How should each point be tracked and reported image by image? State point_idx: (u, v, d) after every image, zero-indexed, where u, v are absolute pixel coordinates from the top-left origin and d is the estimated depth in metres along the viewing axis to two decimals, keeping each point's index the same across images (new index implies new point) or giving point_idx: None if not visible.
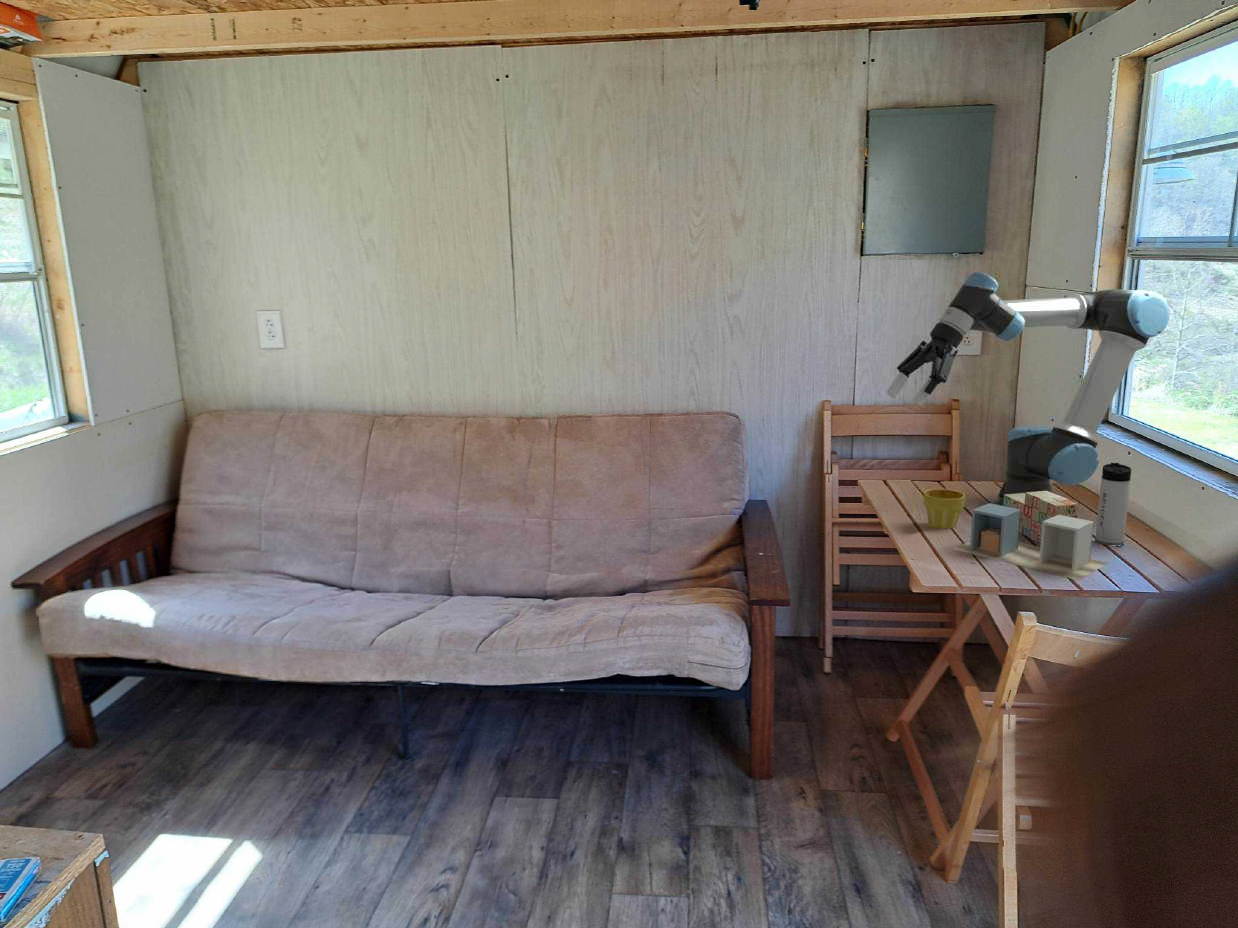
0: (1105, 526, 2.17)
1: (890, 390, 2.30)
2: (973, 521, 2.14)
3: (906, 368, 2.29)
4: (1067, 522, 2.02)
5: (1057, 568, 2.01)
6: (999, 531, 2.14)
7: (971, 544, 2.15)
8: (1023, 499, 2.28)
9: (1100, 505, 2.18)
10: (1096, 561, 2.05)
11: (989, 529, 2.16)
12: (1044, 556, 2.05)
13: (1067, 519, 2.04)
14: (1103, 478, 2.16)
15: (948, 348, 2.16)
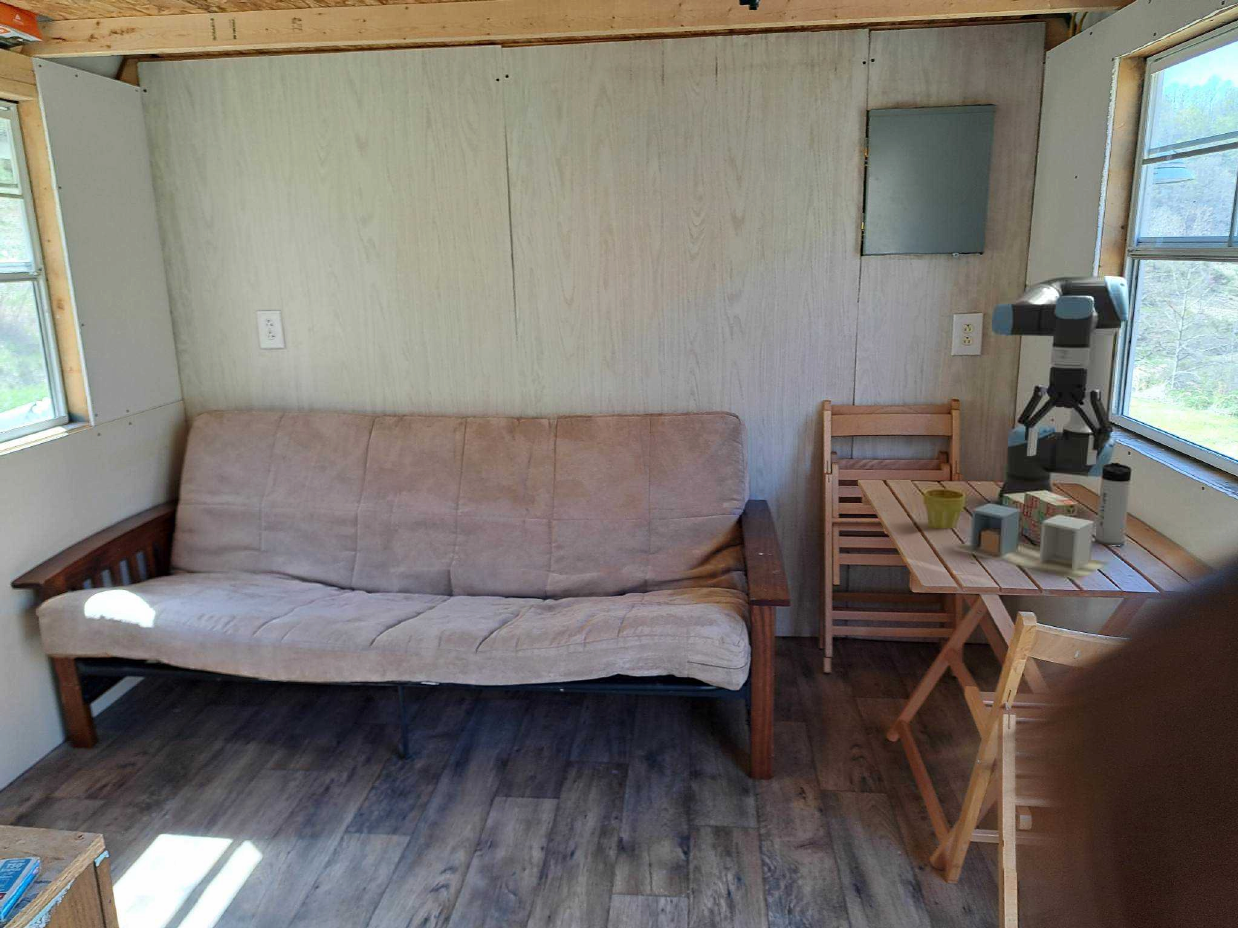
0: (1105, 526, 2.17)
1: (1031, 451, 2.04)
2: (973, 521, 2.14)
3: (1034, 421, 2.03)
4: (1067, 522, 2.02)
5: (1057, 568, 2.01)
6: (999, 531, 2.14)
7: (971, 544, 2.15)
8: (1022, 499, 2.28)
9: (1100, 505, 2.18)
10: (1096, 561, 2.05)
11: (989, 529, 2.16)
12: (1044, 556, 2.05)
13: (1067, 519, 2.04)
14: (1103, 478, 2.16)
15: (1093, 395, 1.91)
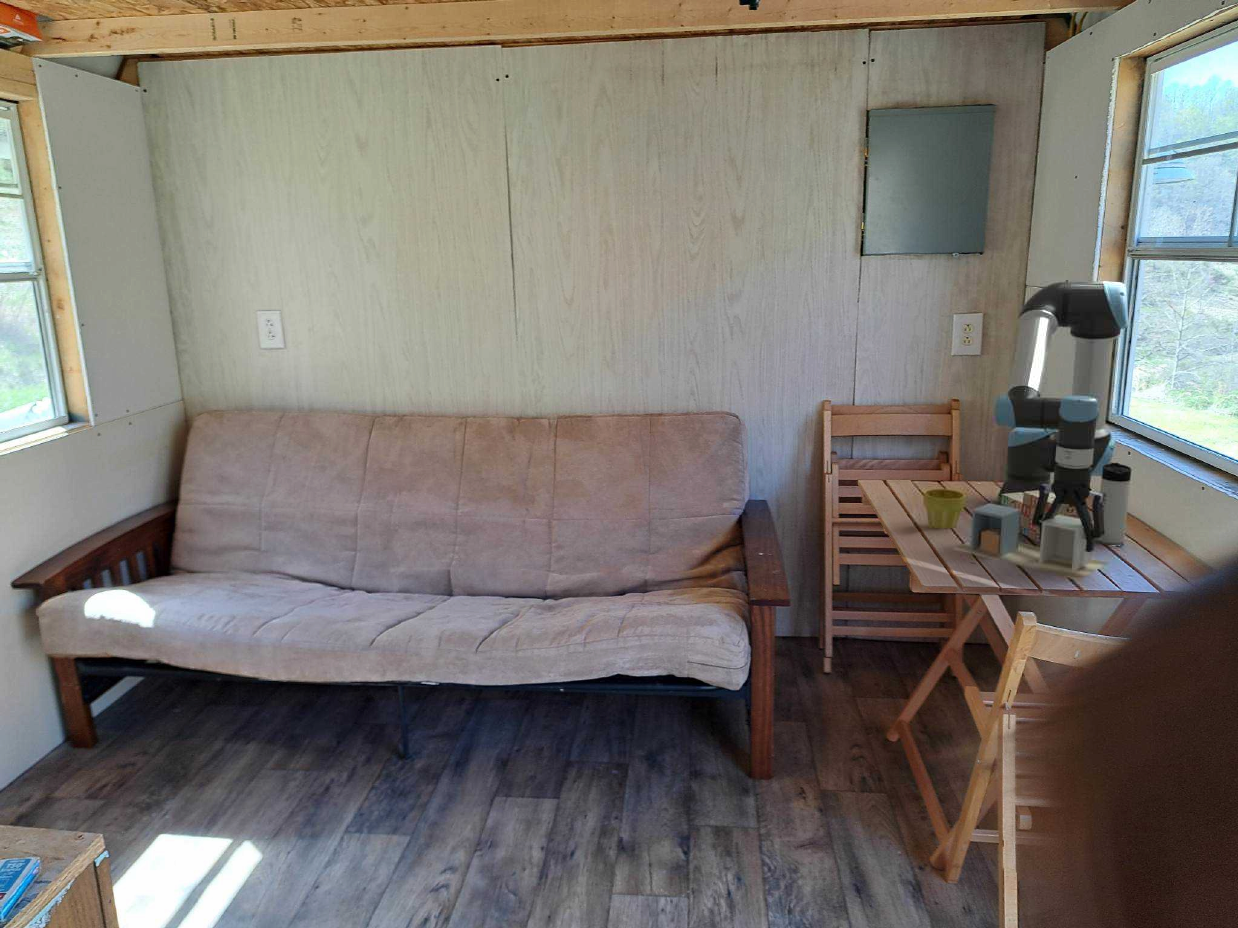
0: (1105, 526, 2.17)
1: None
2: (973, 521, 2.14)
3: None
4: (1067, 522, 2.02)
5: (1057, 568, 2.01)
6: (999, 531, 2.14)
7: (971, 544, 2.15)
8: (1021, 498, 2.28)
9: None
10: (1096, 561, 2.05)
11: (989, 529, 2.16)
12: (1044, 556, 2.05)
13: (1067, 519, 2.04)
14: (1103, 478, 2.16)
15: (1096, 499, 1.95)
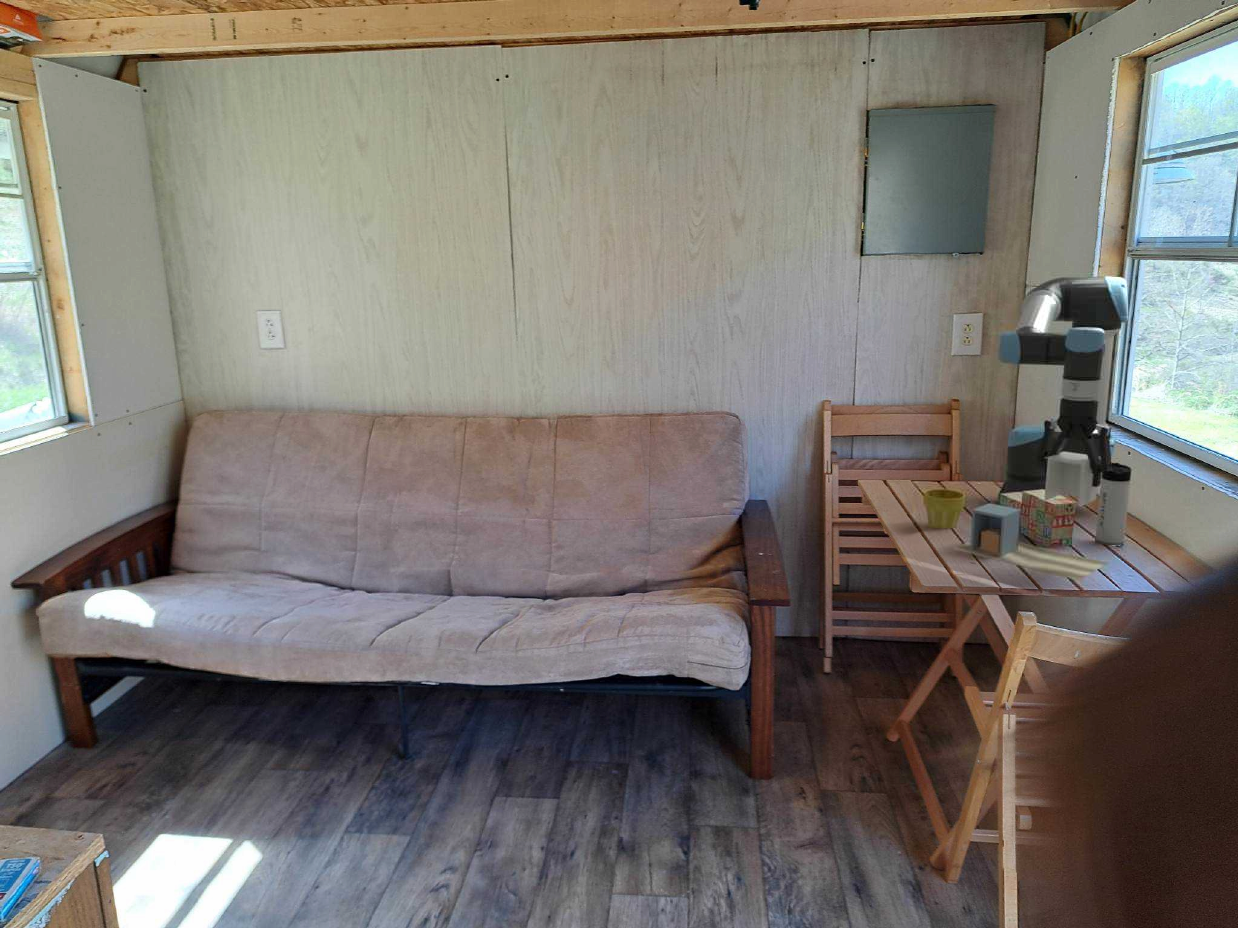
0: (1105, 526, 2.17)
1: None
2: (973, 521, 2.14)
3: None
4: (1073, 457, 1.98)
5: (1057, 568, 2.01)
6: (999, 531, 2.14)
7: (971, 544, 2.15)
8: (1020, 498, 2.29)
9: (1100, 505, 2.18)
10: (1096, 561, 2.05)
11: (989, 529, 2.16)
12: (1049, 493, 2.02)
13: (1073, 455, 2.00)
14: (1103, 478, 2.16)
15: (1103, 432, 1.92)
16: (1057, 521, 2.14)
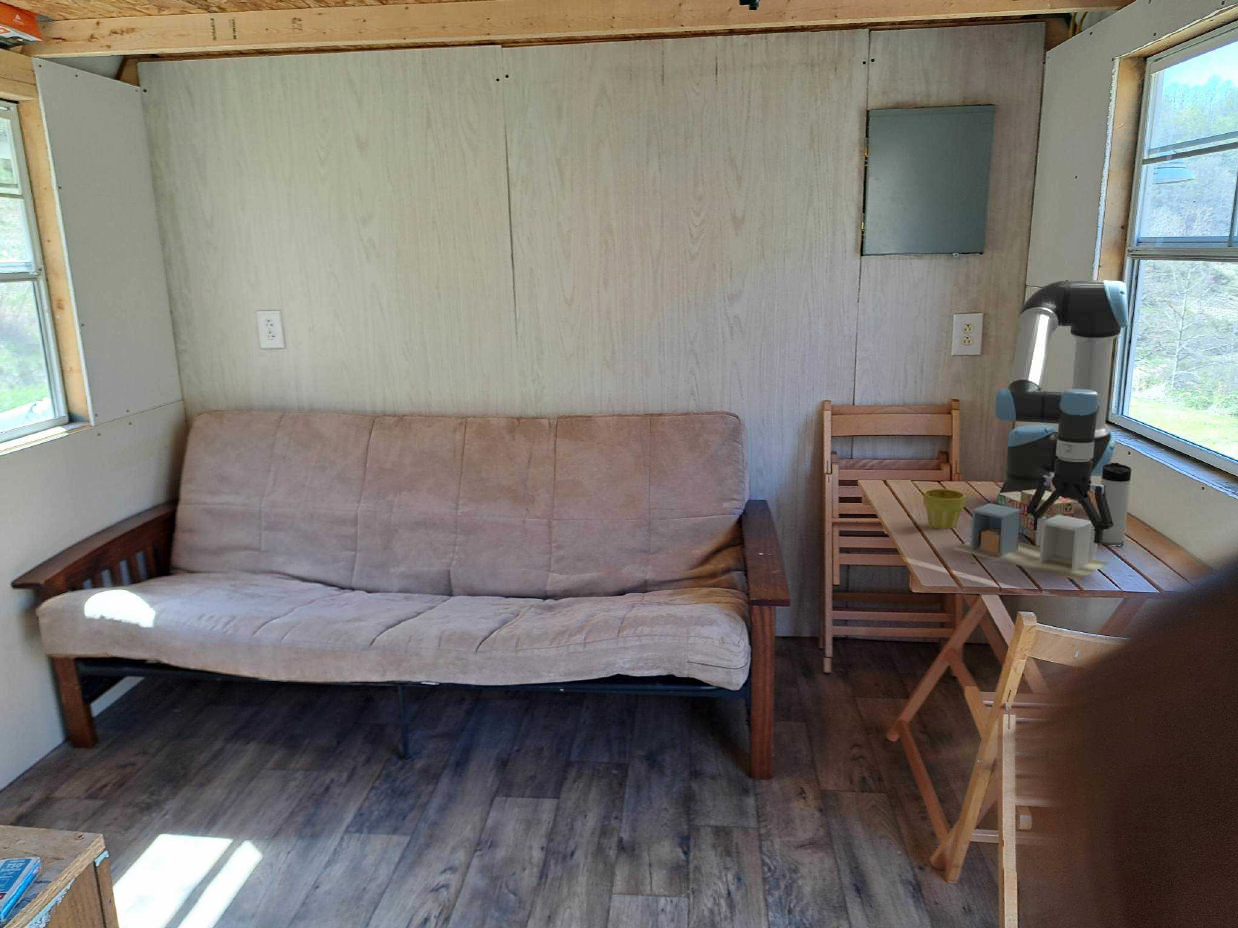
0: None
1: (1039, 541, 2.07)
2: (973, 521, 2.14)
3: (1042, 512, 2.06)
4: (1067, 522, 2.02)
5: (1057, 568, 2.01)
6: (999, 531, 2.14)
7: (971, 544, 2.15)
8: (1018, 497, 2.29)
9: None
10: (1096, 561, 2.05)
11: (989, 529, 2.16)
12: (1044, 556, 2.05)
13: (1067, 519, 2.04)
14: (1103, 478, 2.16)
15: (1098, 490, 1.95)
16: None
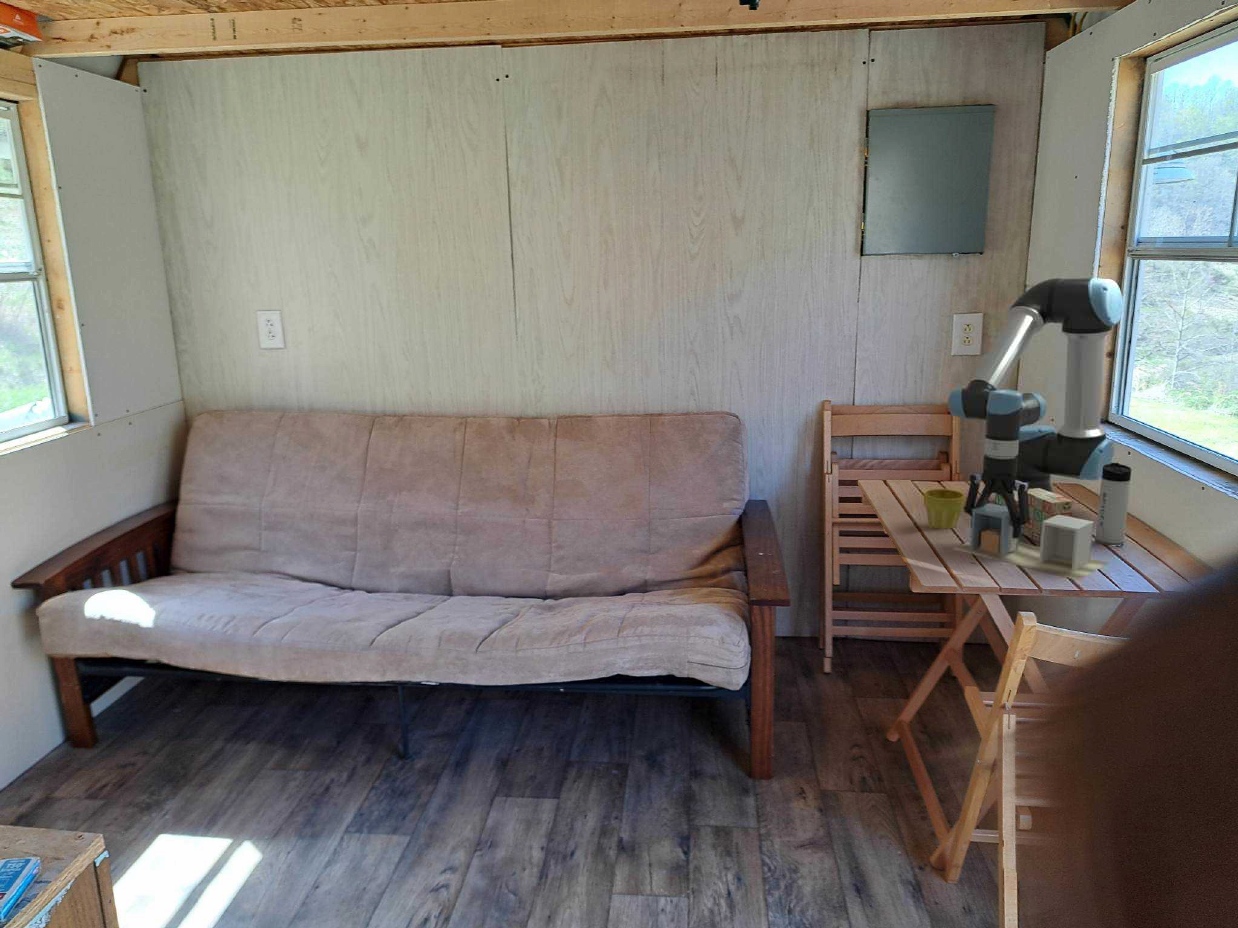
0: (1105, 526, 2.17)
1: None
2: (973, 521, 2.14)
3: None
4: (1067, 522, 2.02)
5: (1057, 568, 2.01)
6: (999, 531, 2.14)
7: (971, 544, 2.15)
8: (1016, 497, 2.30)
9: (1100, 505, 2.18)
10: (1096, 561, 2.05)
11: (989, 529, 2.16)
12: (1044, 556, 2.05)
13: (1067, 519, 2.04)
14: (1103, 478, 2.16)
15: (1021, 488, 2.06)
16: None
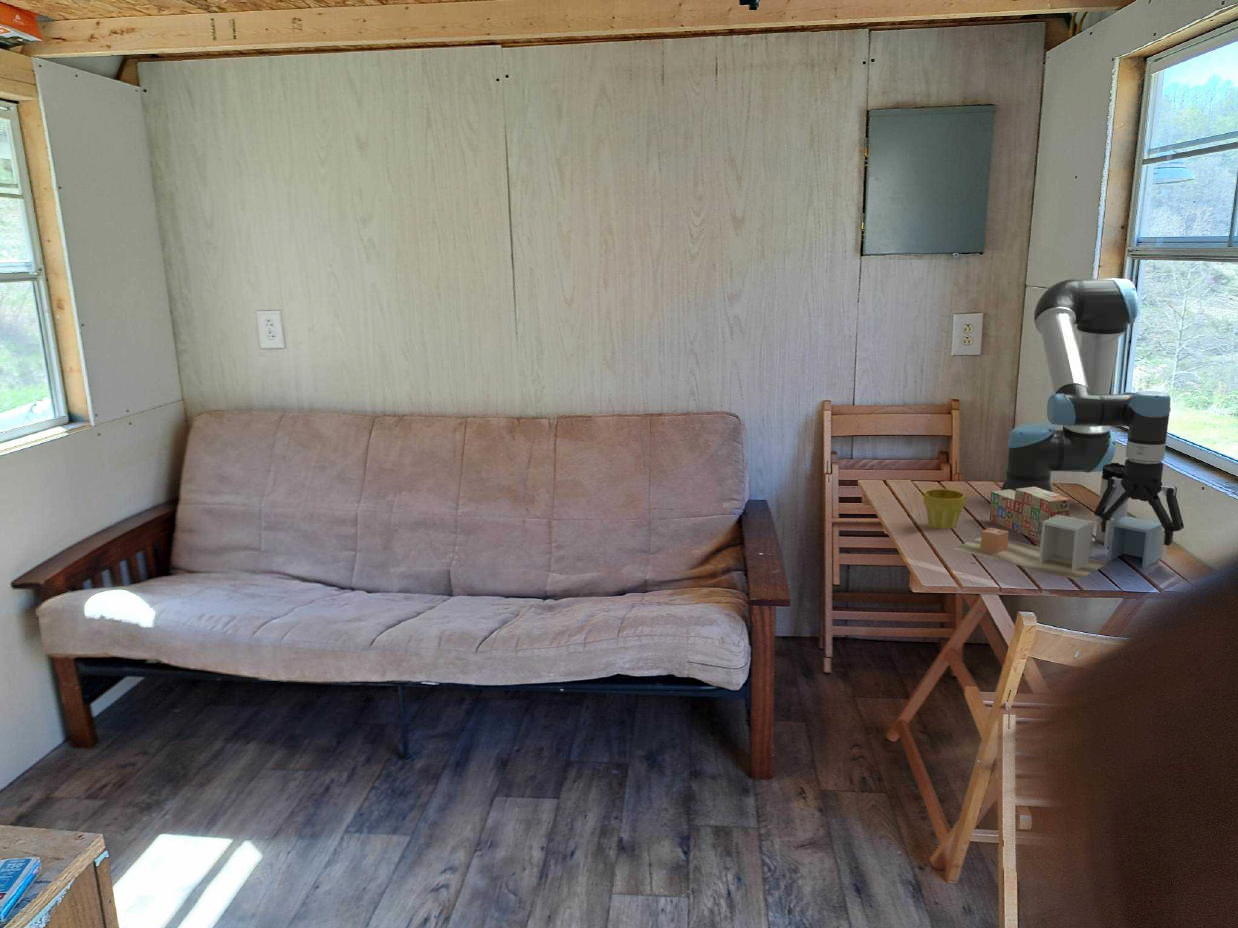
0: None
1: (1108, 542, 2.08)
2: (1112, 535, 2.04)
3: (1111, 513, 2.06)
4: (1067, 522, 2.02)
5: (1057, 568, 2.01)
6: (999, 531, 2.14)
7: (1108, 559, 2.05)
8: (1012, 495, 2.31)
9: None
10: (1096, 561, 2.05)
11: (989, 529, 2.16)
12: (1044, 556, 2.05)
13: (1067, 519, 2.04)
14: (1103, 478, 2.16)
15: (1170, 492, 1.96)
16: None
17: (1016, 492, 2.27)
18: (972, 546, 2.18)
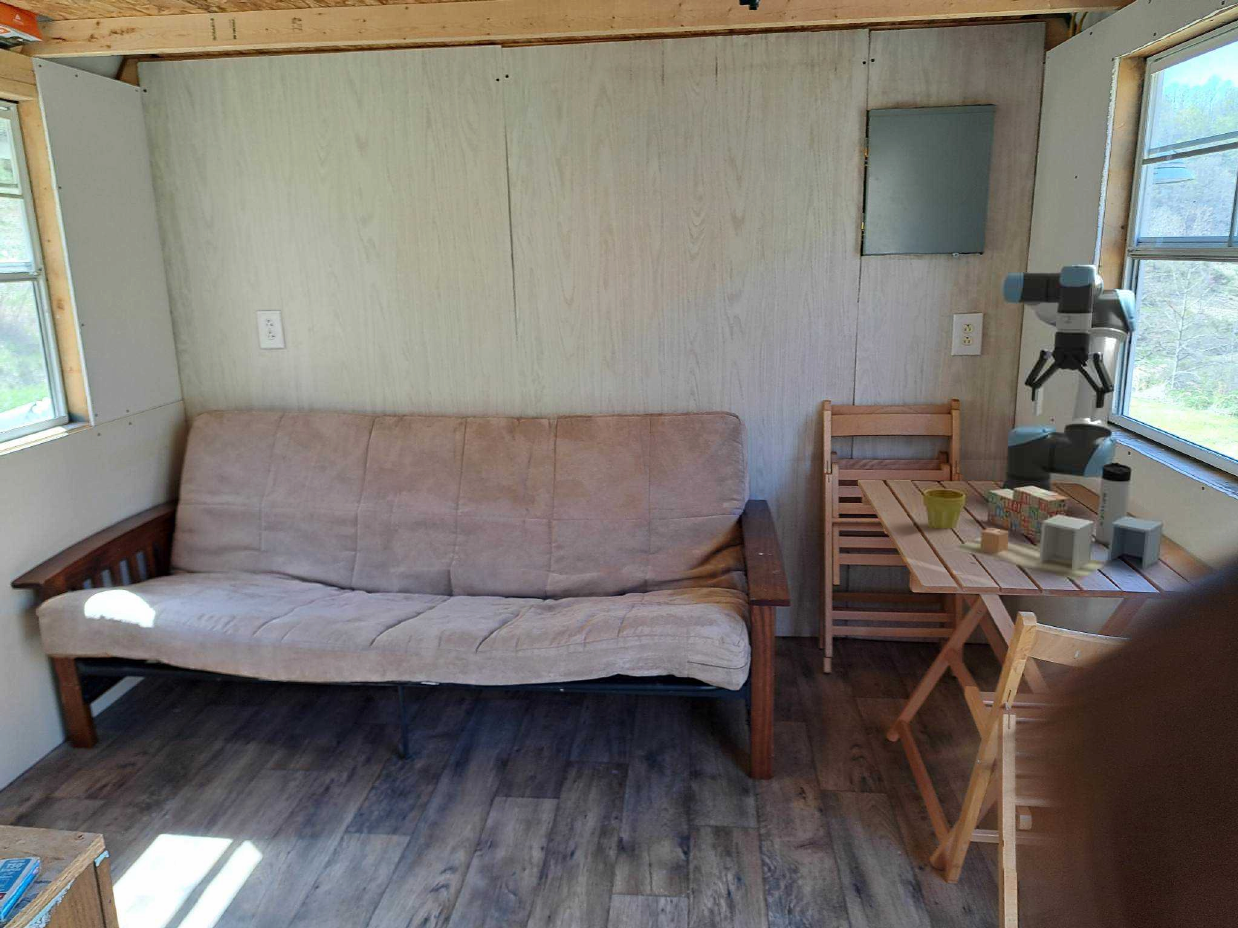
0: (1105, 526, 2.17)
1: (1037, 410, 2.20)
2: (1112, 535, 2.04)
3: (1040, 383, 2.18)
4: (1067, 522, 2.02)
5: (1057, 568, 2.01)
6: (999, 531, 2.14)
7: (1108, 559, 2.05)
8: (1009, 495, 2.32)
9: (1100, 505, 2.18)
10: (1096, 561, 2.05)
11: (989, 529, 2.16)
12: (1044, 556, 2.05)
13: (1067, 519, 2.04)
14: (1103, 478, 2.16)
15: (1096, 357, 2.07)
16: (1051, 517, 2.18)
17: (1014, 491, 2.27)
18: (972, 546, 2.18)
